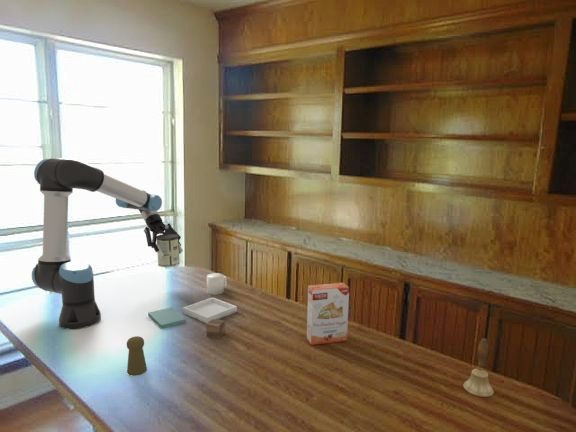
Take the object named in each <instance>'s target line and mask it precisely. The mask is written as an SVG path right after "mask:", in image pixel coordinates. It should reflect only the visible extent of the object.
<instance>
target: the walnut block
mask: <svg viewBox="0 0 576 432" xmlns="http://www.w3.org/2000/svg"><path fill="white" fill-rule="evenodd" d="M205 328H206V337H207V338H213V339H220V338H221V337H222V336H224V335H225V333H226V321H225V320H222V319H218V320H217V319H212V320H211V321H210V322H208V323H205Z"/></svg>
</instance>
